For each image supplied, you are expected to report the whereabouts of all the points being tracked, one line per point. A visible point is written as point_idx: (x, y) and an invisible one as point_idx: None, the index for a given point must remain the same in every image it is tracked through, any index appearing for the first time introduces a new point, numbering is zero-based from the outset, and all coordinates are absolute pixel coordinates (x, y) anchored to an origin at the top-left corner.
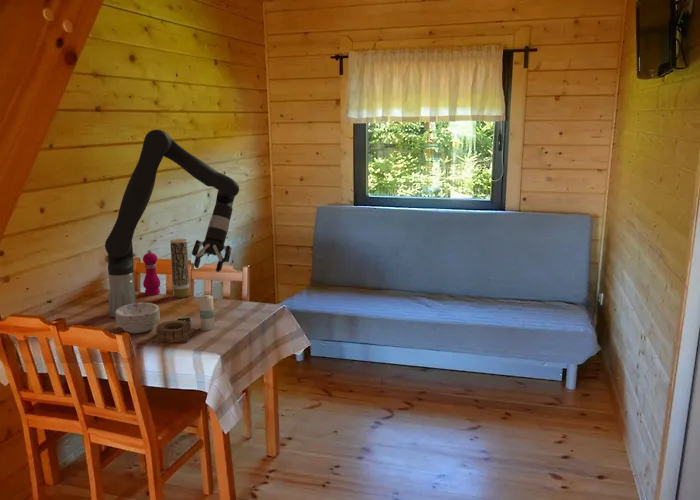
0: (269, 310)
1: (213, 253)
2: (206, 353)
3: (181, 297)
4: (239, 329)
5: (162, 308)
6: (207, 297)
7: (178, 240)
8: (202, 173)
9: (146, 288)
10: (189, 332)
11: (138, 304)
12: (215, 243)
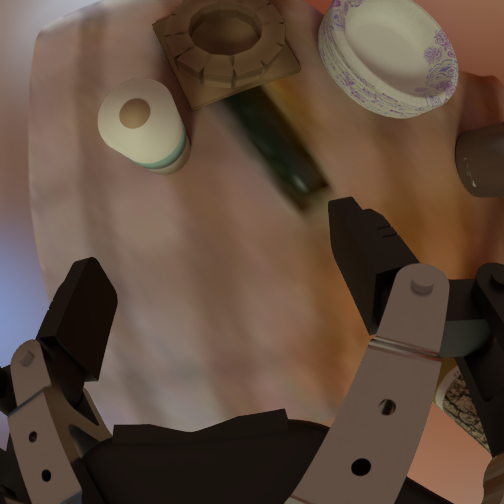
0: (98, 397)
1: (125, 436)
2: (68, 16)
3: None
4: (61, 194)
5: (435, 257)
6: (121, 109)
7: None
8: None
9: None
10: (169, 52)
11: (441, 90)
12: None
